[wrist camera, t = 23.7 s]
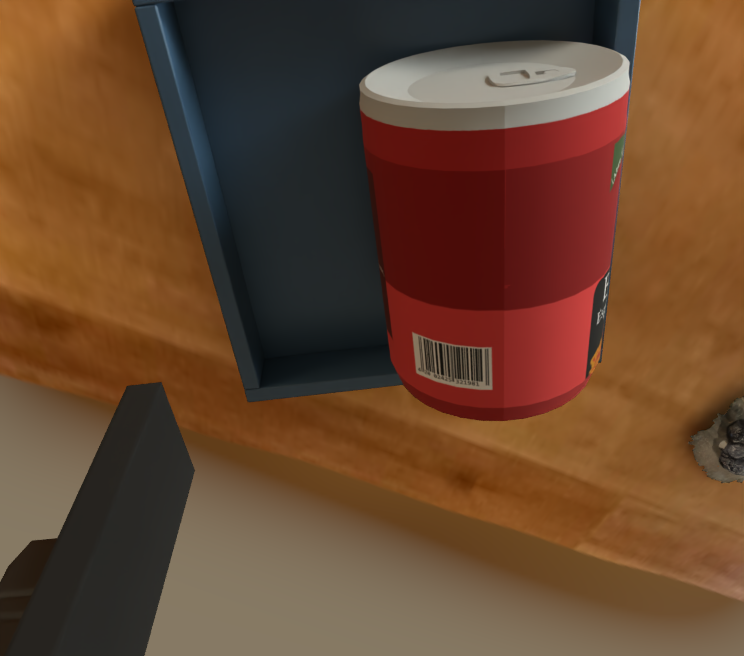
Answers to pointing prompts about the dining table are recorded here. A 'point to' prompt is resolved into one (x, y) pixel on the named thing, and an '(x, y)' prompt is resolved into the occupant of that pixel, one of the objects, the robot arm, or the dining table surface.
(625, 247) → the dining table surface
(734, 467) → the grey mineral rock
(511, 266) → the canned food
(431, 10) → the tray
